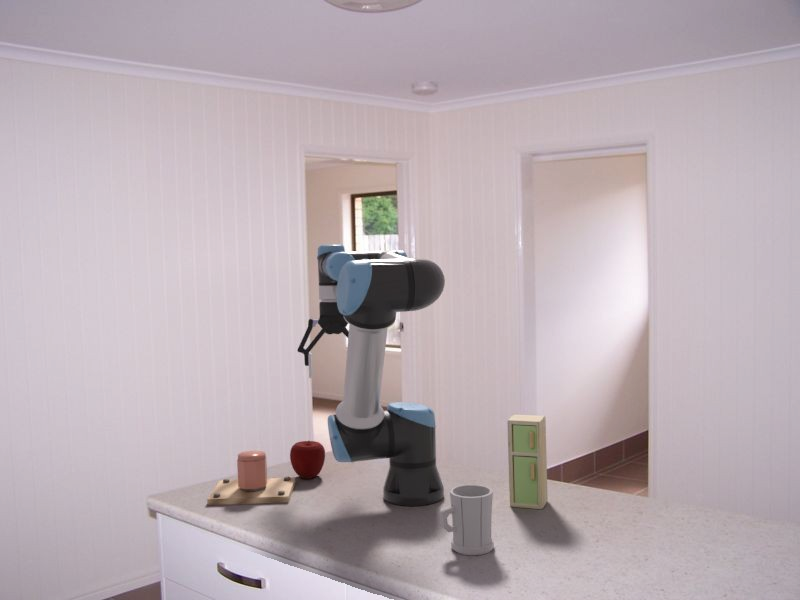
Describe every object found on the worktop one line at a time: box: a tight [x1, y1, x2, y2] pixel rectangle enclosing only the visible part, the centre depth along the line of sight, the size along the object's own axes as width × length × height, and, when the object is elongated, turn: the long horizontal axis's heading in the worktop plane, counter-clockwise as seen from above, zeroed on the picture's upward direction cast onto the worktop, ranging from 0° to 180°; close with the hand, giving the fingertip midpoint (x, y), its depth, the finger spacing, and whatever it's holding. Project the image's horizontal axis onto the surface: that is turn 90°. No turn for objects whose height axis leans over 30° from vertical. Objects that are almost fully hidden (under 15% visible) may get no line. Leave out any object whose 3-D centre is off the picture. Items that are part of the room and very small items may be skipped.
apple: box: [289, 440, 326, 479], centre depth 214 cm, size 10×10×10 cm
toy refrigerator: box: [507, 413, 549, 510], centre depth 186 cm, size 8×7×21 cm
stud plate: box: [206, 476, 296, 506], centre depth 201 cm, size 20×16×8 cm
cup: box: [439, 484, 495, 556], centre depth 160 cm, size 10×9×12 cm
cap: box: [236, 450, 268, 489], centre depth 200 cm, size 7×7×8 cm
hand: (335, 376), depth 218 cm, fingers open, 13 cm apart
